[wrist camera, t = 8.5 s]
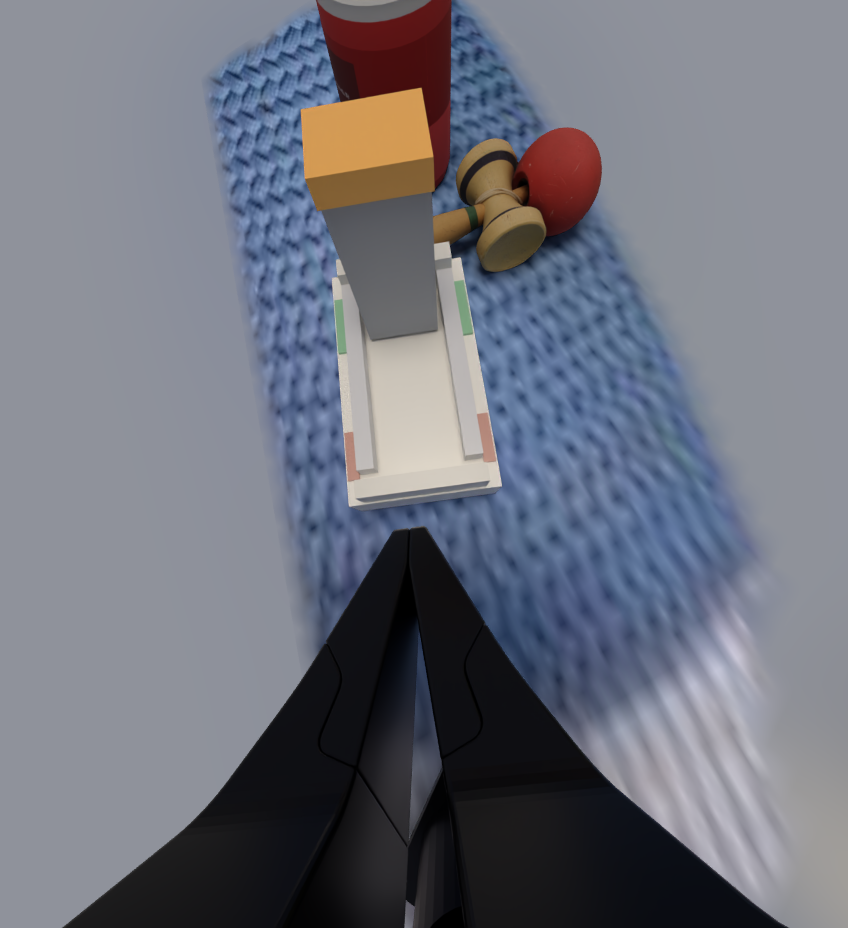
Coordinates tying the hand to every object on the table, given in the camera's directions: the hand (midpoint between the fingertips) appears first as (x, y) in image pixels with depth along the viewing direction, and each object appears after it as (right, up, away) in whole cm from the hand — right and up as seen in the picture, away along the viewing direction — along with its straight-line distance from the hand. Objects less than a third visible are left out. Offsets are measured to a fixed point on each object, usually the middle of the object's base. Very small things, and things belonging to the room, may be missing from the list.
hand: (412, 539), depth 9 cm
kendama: (+4, +19, +19) cm, 27 cm away
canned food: (-1, +27, +21) cm, 34 cm away
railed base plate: (0, +7, +16) cm, 17 cm away
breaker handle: (-1, +12, +13) cm, 18 cm away
